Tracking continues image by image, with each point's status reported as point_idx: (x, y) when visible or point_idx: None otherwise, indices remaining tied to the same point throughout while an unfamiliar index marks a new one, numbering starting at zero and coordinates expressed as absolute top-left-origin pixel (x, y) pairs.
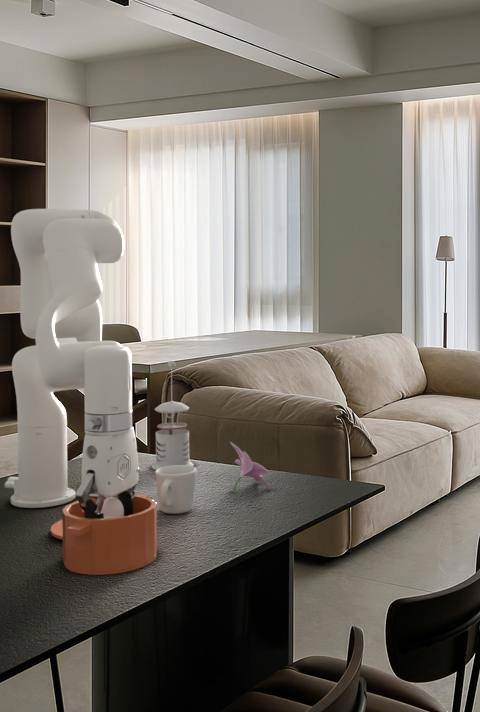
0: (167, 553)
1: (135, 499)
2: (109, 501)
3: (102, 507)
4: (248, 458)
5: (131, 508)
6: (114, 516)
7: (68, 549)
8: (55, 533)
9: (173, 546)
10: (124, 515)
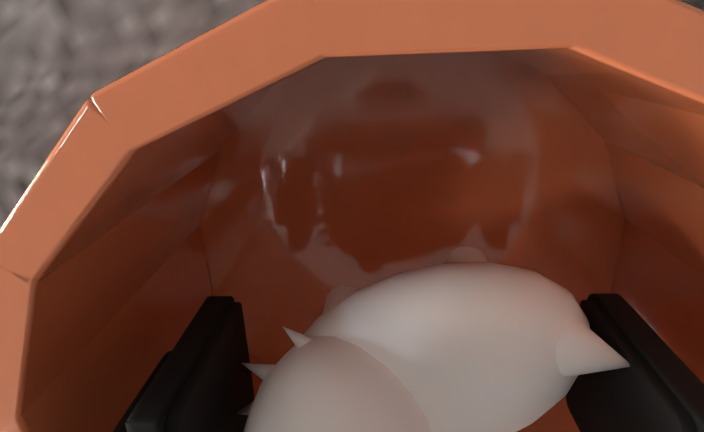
0: (219, 9)
1: (49, 421)
2: None
3: None
4: None
5: (192, 359)
6: (402, 384)
7: None
8: None
9: (107, 45)
10: (233, 368)
